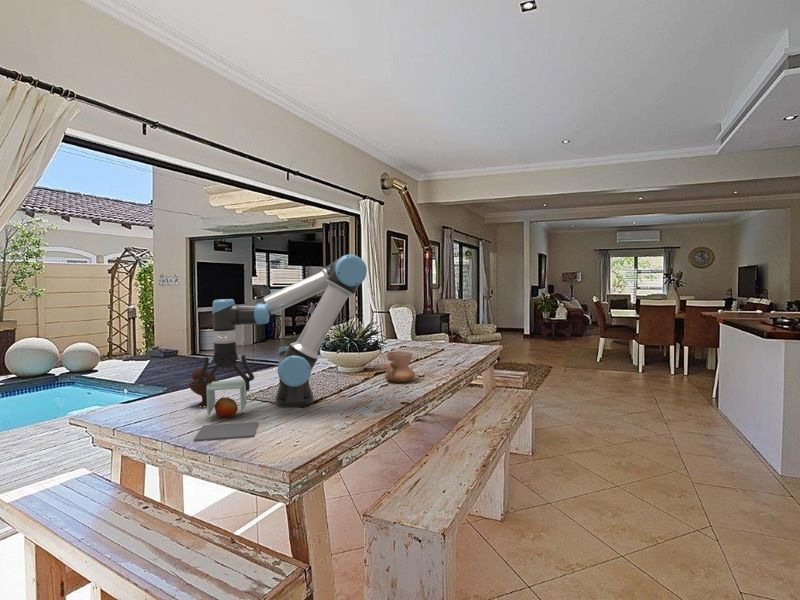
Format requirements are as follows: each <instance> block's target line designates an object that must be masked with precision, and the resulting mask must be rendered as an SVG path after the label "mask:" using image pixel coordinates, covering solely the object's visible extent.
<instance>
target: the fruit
mask: <svg viewBox="0 0 800 600" xmlns="http://www.w3.org/2000/svg"><path fill="white" fill-rule="evenodd" d="M238 408H239V407H238V404H237V402H236V401H235V399H233V398H230V397H229V396H228V397H220V398H219V399H218V400H217V401H215V407H214V411H215V415H216V417H215V418H216V419H217V418H222V419H230V418H232V417H234V416H235V414H237V412H238Z"/></svg>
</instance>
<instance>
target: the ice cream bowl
mask: <svg viewBox="0 0 800 600" xmlns="http://www.w3.org/2000/svg"><path fill="white" fill-rule="evenodd" d="M202 370H203V367H200V368H197V369H194V370H193V371H192V374H191V378H192V379H193V380H191V381H190V382H188V387H189V389H190V390H191V392H193V393H195V394H196V395H198V396H201V401H200V402H198V404H197V407H198V406H201V407H200V408H205V407H204V406H207V394H204V386H203V384H199V383H198V380H199V378H200V375H201V372H202ZM210 373H211V371H209V370H207V371H206V374H205V377H204V379H203V380H206V379H207V377H208V376H209V374H210ZM215 381H220V380H219V379H217V378H216V375H215V374H214V375H213V376H212V378H211V379H210V381H209V382H208V384H211V383H212V382H215Z"/></svg>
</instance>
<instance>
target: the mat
mask: <svg viewBox="0 0 800 600" xmlns="http://www.w3.org/2000/svg"><path fill="white" fill-rule="evenodd" d="M258 425H259V421H253V422H252V421H251V422H236V423H235V422H234V423H222V424H221V423H220V424H205V425H202V426H201V427H200V429H199V431H198V432H197V433H196V435H195V437H194V438H193V442H203V441H204V440H207V441H217V440H218V441H219V440H228V439H229V440H230V439H231V440H232V439H245V438H255V436H256V433H257V429H258Z"/></svg>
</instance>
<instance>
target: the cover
mask: <svg viewBox="0 0 800 600" xmlns="http://www.w3.org/2000/svg"><path fill="white" fill-rule="evenodd" d="M243 383H244V379H235V380H234V379H232V380H231V379H230V380H219V381H215V382H212V383H211V384H210V385H209V387H208V388H207V389H206V393H207V407H206V410H207V411H206V412H207V414H206V415H207V416H208V415H210V414H211V413H212V411H213V410H214V409H215V404H216V391H222V390H224V391H225V390H236V389H237V390H238V389H239V395H240V397H239V398H240V413H244V411H245V409H246V405H247V403H248V402H247V400H246V401H244V387H243Z"/></svg>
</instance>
